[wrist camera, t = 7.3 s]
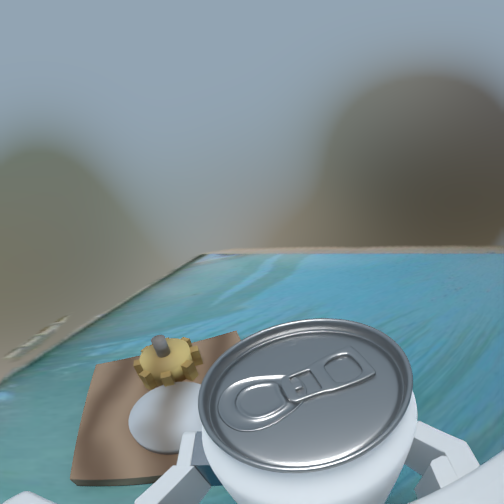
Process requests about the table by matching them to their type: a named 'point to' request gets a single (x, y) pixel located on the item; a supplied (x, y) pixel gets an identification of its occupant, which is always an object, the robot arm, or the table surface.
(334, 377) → the can
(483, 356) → the table surface
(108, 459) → the board
